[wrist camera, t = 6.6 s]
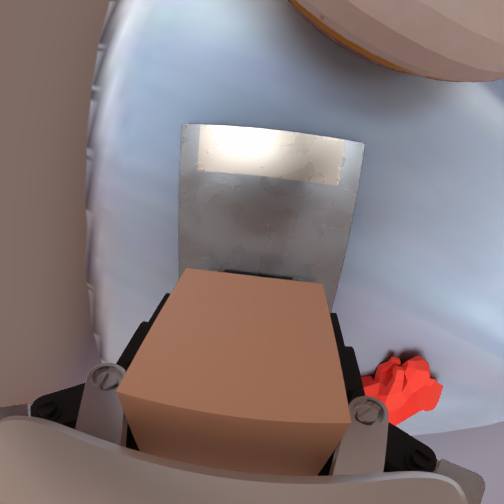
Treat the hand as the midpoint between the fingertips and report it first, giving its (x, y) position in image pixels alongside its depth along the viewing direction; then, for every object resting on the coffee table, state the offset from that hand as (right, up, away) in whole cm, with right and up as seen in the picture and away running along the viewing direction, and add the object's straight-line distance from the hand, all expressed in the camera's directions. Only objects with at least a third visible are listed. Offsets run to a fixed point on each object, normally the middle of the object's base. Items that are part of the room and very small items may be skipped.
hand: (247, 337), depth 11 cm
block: (0, 0, 0) cm, 1 cm away
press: (+1, +4, +15) cm, 15 cm away
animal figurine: (+18, -13, +21) cm, 31 cm away
